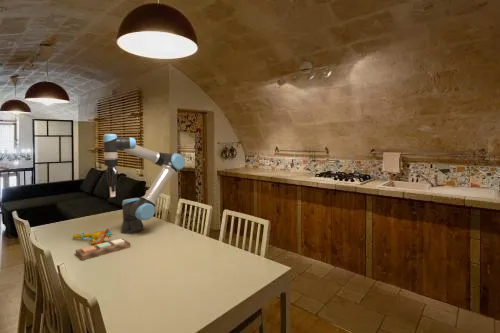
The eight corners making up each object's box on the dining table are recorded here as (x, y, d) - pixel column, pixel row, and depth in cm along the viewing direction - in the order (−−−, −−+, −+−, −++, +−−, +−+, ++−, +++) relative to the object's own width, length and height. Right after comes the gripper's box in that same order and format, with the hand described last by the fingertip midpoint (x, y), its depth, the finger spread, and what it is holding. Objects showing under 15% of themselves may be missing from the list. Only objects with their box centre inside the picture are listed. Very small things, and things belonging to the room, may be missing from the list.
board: (122, 242, 178) (122, 238, 178) (130, 247, 170) (130, 243, 170) (75, 254, 160) (75, 250, 159) (82, 260, 151) (82, 255, 151)
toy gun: (95, 239, 166) (110, 225, 179) (57, 243, 171) (74, 229, 185) (101, 251, 169) (115, 235, 183) (63, 254, 174) (80, 239, 188)
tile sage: (107, 245, 169) (107, 242, 169) (111, 248, 165) (111, 244, 165) (96, 248, 165) (96, 244, 165) (100, 251, 161) (100, 247, 160)
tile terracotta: (92, 249, 163) (92, 245, 163) (96, 252, 159) (96, 248, 159) (81, 252, 159) (81, 248, 159) (84, 255, 155) (84, 251, 155)
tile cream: (120, 242, 175) (120, 238, 175) (125, 244, 171) (124, 241, 171) (110, 244, 171) (110, 241, 170) (114, 247, 166) (114, 243, 166)
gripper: (100, 158, 176) (102, 196, 178) (108, 159, 167) (110, 198, 169) (113, 158, 181) (114, 194, 184) (121, 159, 172) (123, 197, 175)
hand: (112, 196), depth 176 cm, fingers closed
